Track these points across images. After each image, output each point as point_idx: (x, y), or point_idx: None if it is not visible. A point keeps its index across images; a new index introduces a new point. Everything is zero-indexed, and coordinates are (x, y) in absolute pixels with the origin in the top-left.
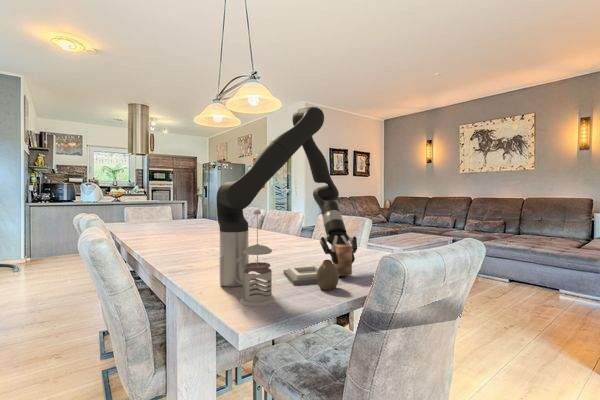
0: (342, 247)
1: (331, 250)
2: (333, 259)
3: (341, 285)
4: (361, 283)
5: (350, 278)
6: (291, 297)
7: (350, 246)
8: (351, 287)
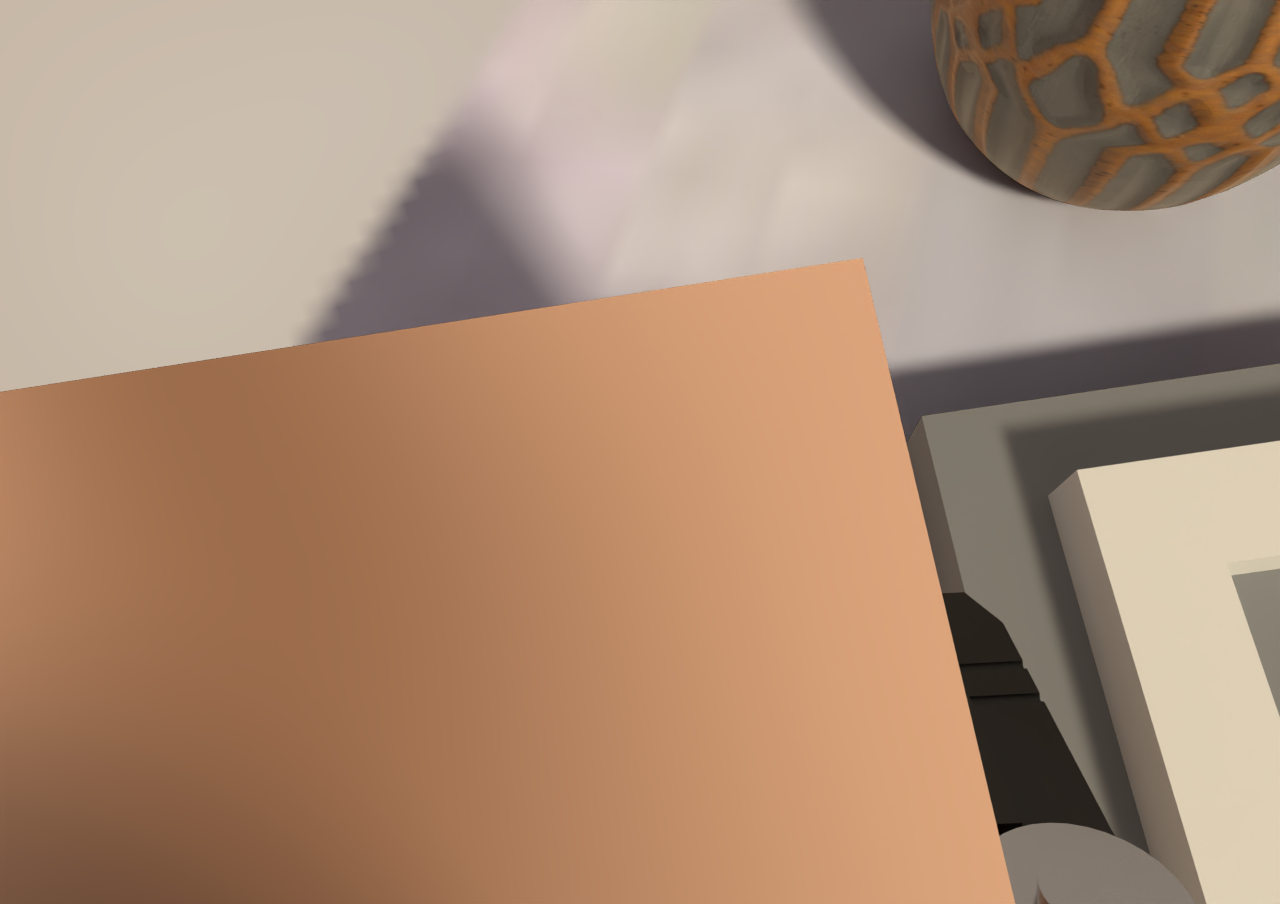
0: (605, 326)
1: (1188, 900)
2: (983, 617)
3: (813, 225)
4: (426, 290)
5: None
6: None
7: (24, 405)
8: (674, 118)
